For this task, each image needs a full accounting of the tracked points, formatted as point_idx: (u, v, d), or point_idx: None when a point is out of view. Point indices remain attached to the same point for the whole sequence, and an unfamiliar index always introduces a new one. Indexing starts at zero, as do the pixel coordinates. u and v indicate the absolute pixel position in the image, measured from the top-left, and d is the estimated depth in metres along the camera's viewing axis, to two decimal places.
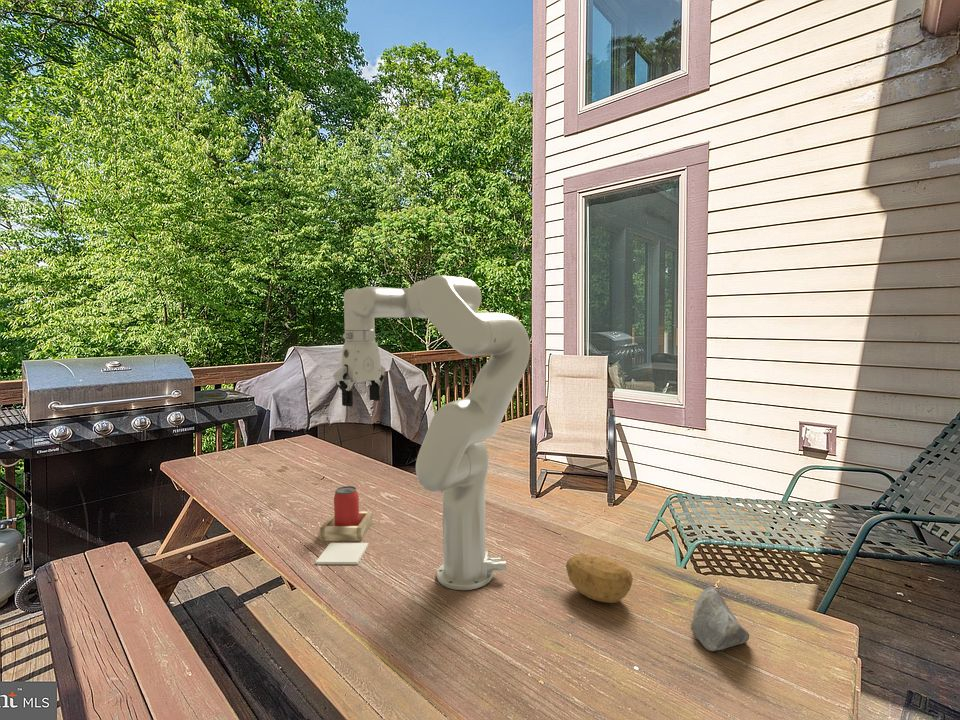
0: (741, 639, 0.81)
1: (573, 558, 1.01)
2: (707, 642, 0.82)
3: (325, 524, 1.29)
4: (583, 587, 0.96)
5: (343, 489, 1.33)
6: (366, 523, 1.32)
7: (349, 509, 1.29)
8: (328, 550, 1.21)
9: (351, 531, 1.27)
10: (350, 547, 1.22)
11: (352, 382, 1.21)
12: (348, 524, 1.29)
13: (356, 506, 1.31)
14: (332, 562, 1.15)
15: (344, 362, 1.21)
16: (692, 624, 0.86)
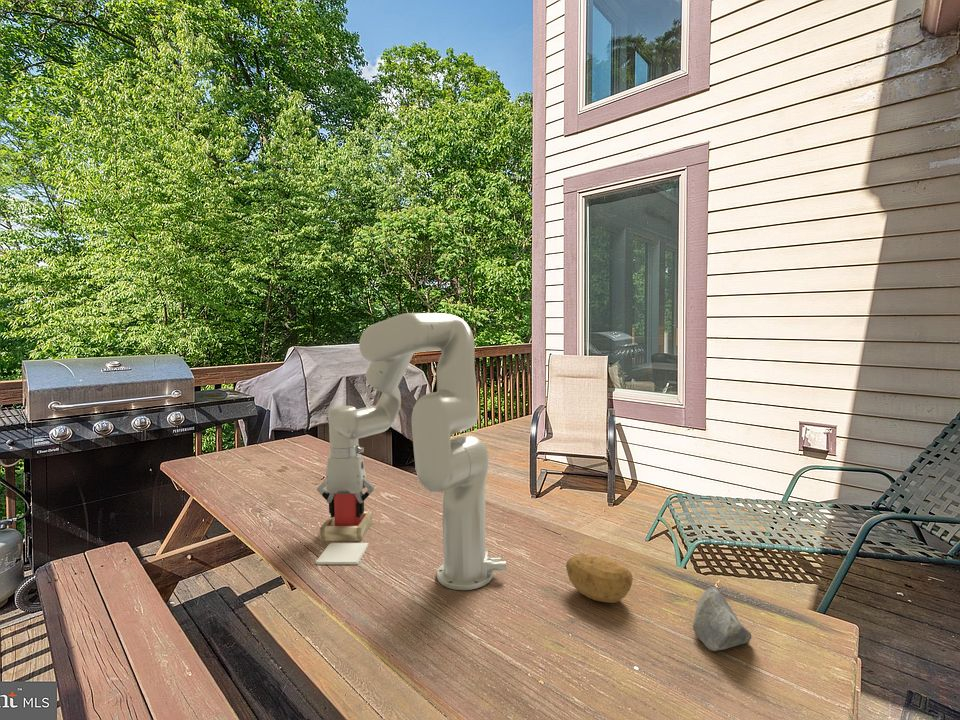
0: (743, 639, 0.81)
1: (573, 558, 1.01)
2: (709, 642, 0.82)
3: (325, 524, 1.29)
4: (583, 587, 0.96)
5: None
6: (366, 523, 1.32)
7: (349, 509, 1.29)
8: (328, 550, 1.21)
9: (351, 531, 1.27)
10: (350, 547, 1.22)
11: None
12: (348, 524, 1.29)
13: (356, 506, 1.31)
14: (332, 562, 1.15)
15: (362, 473, 1.31)
16: (694, 624, 0.86)
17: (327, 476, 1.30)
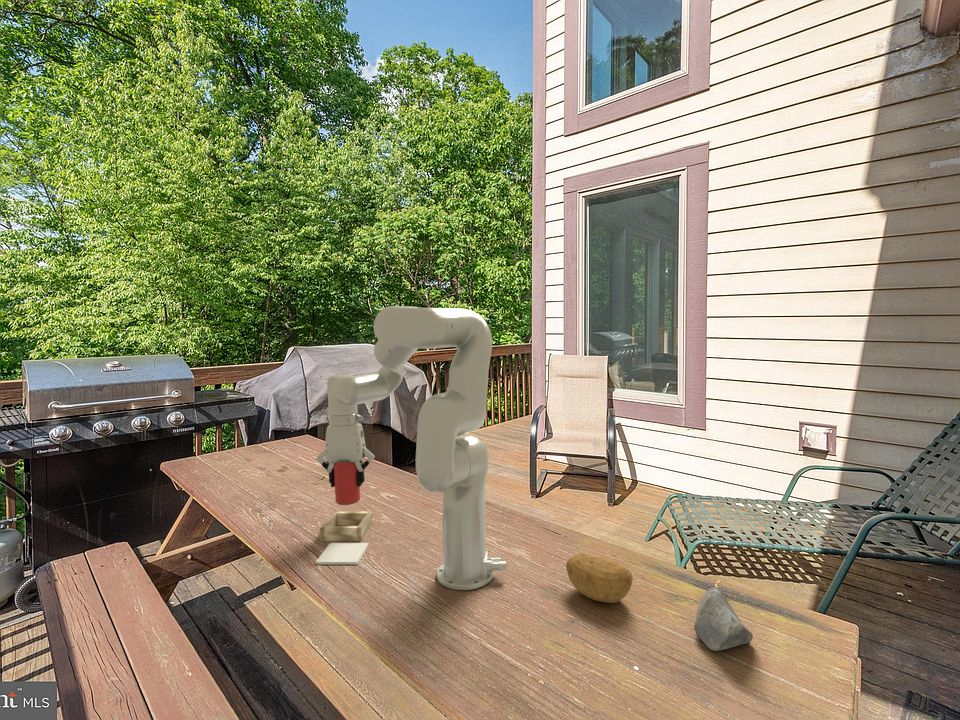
0: (744, 639, 0.81)
1: (573, 558, 1.01)
2: (710, 642, 0.82)
3: (325, 524, 1.29)
4: (583, 587, 0.96)
5: None
6: (366, 523, 1.32)
7: (349, 477, 1.28)
8: (328, 550, 1.21)
9: (351, 531, 1.27)
10: (350, 547, 1.22)
11: None
12: (348, 493, 1.28)
13: (356, 475, 1.30)
14: (332, 562, 1.15)
15: (362, 442, 1.30)
16: (695, 624, 0.86)
17: (326, 445, 1.29)
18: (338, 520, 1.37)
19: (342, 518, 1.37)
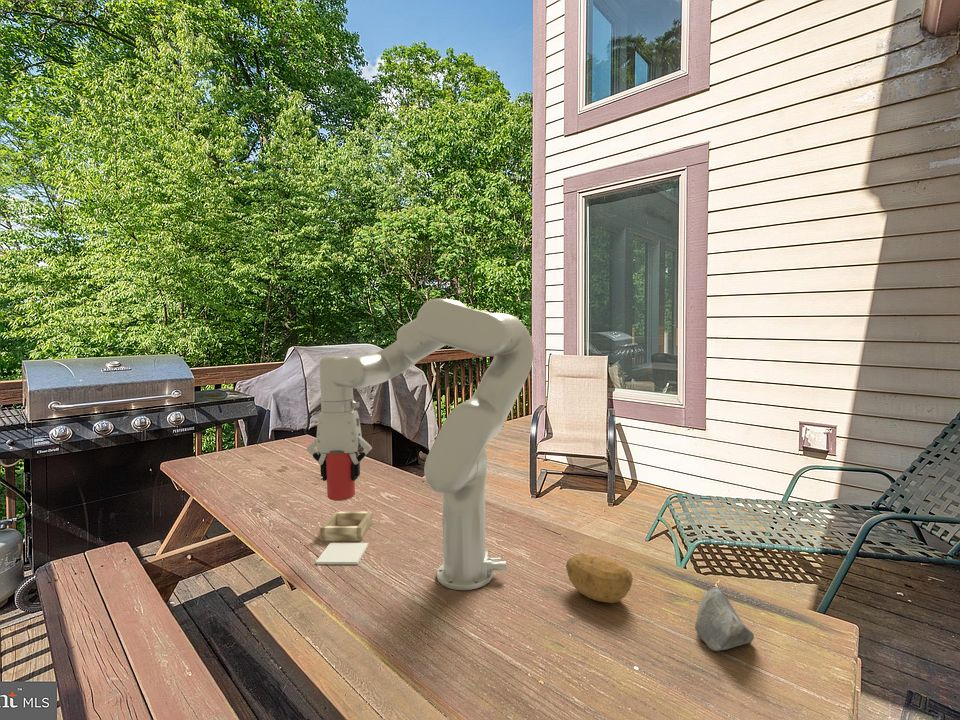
0: (745, 639, 0.81)
1: (573, 558, 1.01)
2: (711, 642, 0.82)
3: (325, 524, 1.29)
4: (583, 587, 0.96)
5: None
6: (366, 523, 1.32)
7: (343, 470, 1.15)
8: (328, 550, 1.21)
9: (351, 531, 1.27)
10: (350, 547, 1.22)
11: None
12: (342, 488, 1.15)
13: None
14: (332, 562, 1.15)
15: (358, 431, 1.17)
16: (696, 624, 0.86)
17: (318, 434, 1.15)
18: (338, 520, 1.37)
19: (342, 518, 1.37)
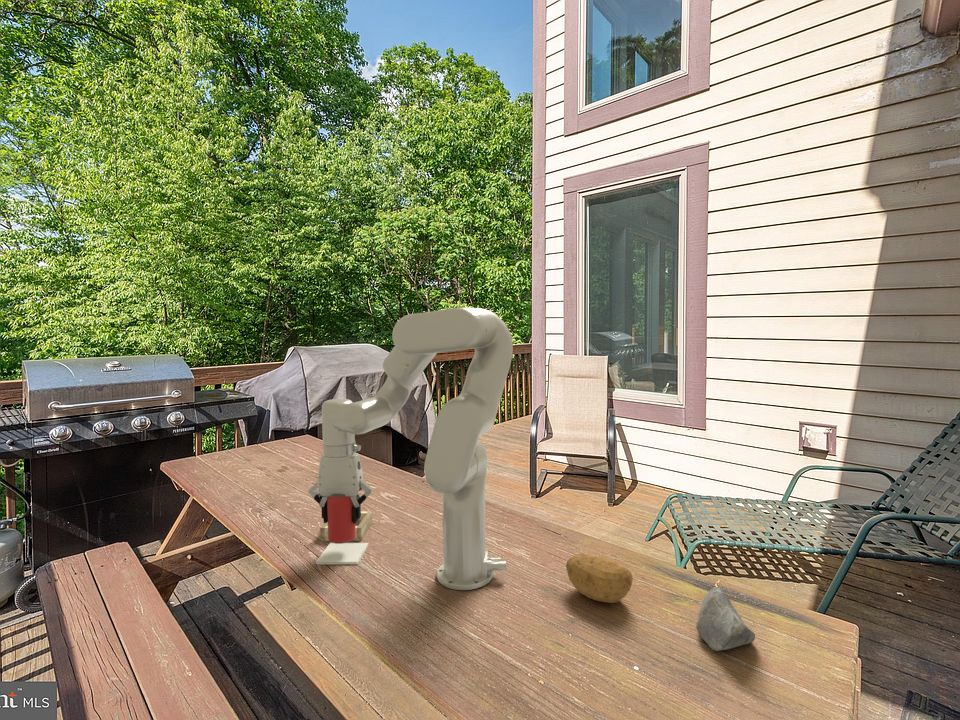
0: (747, 639, 0.81)
1: (573, 558, 1.01)
2: (712, 642, 0.82)
3: (325, 524, 1.29)
4: (583, 587, 0.96)
5: None
6: (366, 523, 1.32)
7: (344, 513, 1.16)
8: (328, 550, 1.21)
9: None
10: (350, 547, 1.22)
11: None
12: (343, 531, 1.16)
13: None
14: (332, 562, 1.15)
15: (359, 474, 1.17)
16: (697, 624, 0.86)
17: (320, 477, 1.16)
18: None
19: None
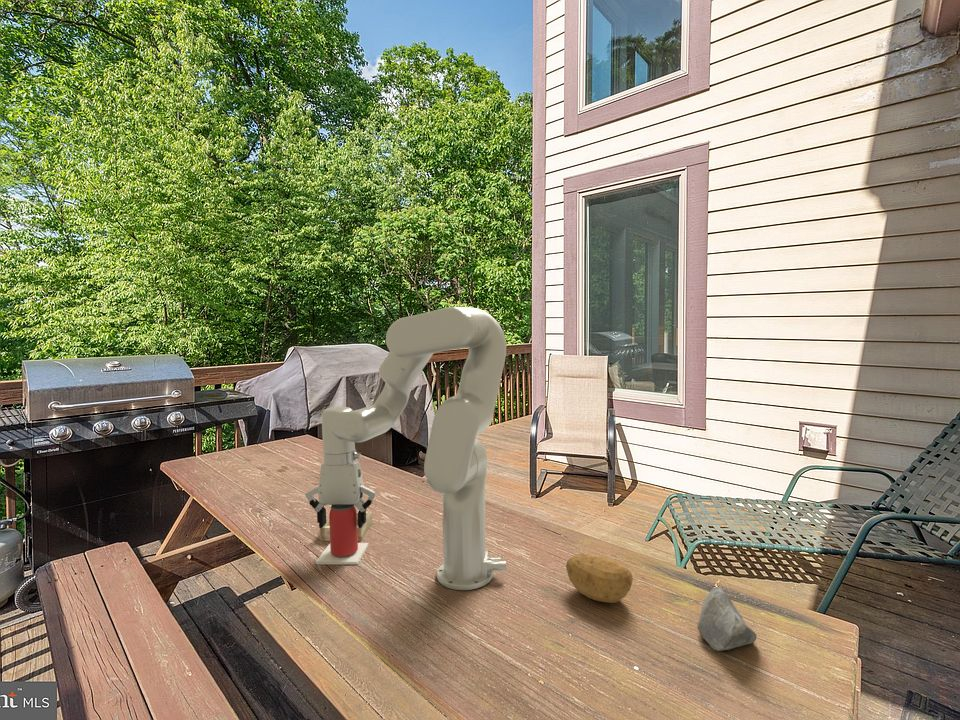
0: (748, 639, 0.81)
1: (573, 558, 1.01)
2: (714, 642, 0.82)
3: (325, 524, 1.29)
4: (583, 587, 0.96)
5: (339, 505, 1.19)
6: (366, 523, 1.32)
7: (346, 527, 1.16)
8: (328, 550, 1.21)
9: None
10: None
11: None
12: (345, 544, 1.16)
13: (354, 524, 1.18)
14: (332, 562, 1.15)
15: (359, 482, 1.18)
16: (698, 624, 0.86)
17: (320, 485, 1.16)
18: None
19: None
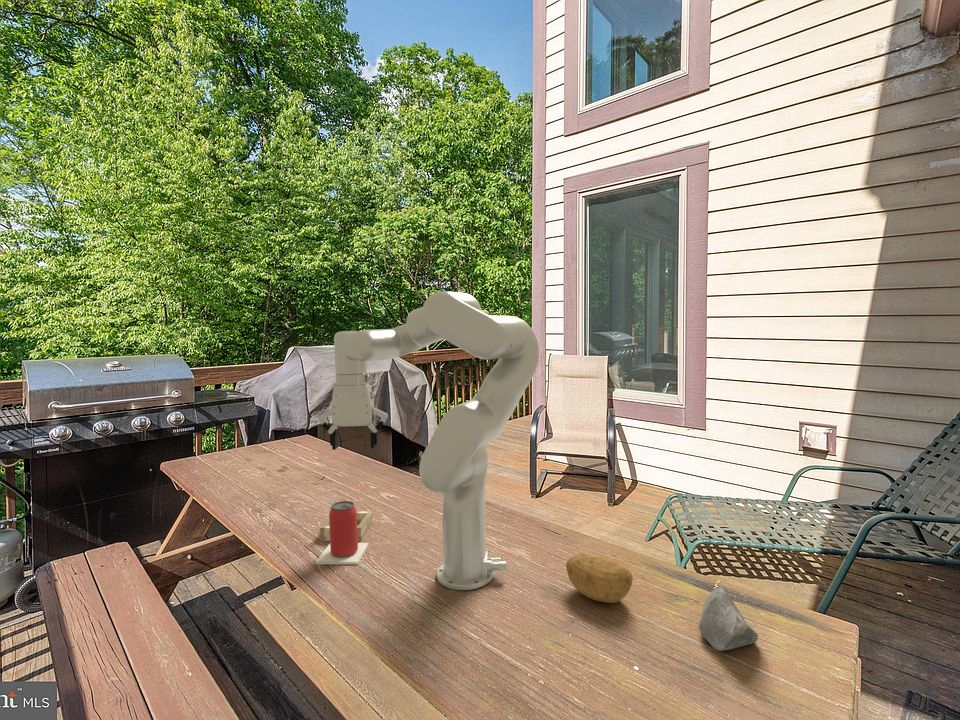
0: (749, 639, 0.81)
1: (573, 558, 1.01)
2: (715, 642, 0.82)
3: (325, 524, 1.29)
4: (583, 587, 0.96)
5: (339, 505, 1.19)
6: (366, 523, 1.32)
7: (346, 527, 1.16)
8: (328, 550, 1.21)
9: None
10: None
11: None
12: (345, 544, 1.16)
13: (354, 524, 1.18)
14: (332, 562, 1.15)
15: (372, 404, 1.21)
16: (700, 624, 0.86)
17: (333, 406, 1.19)
18: None
19: None
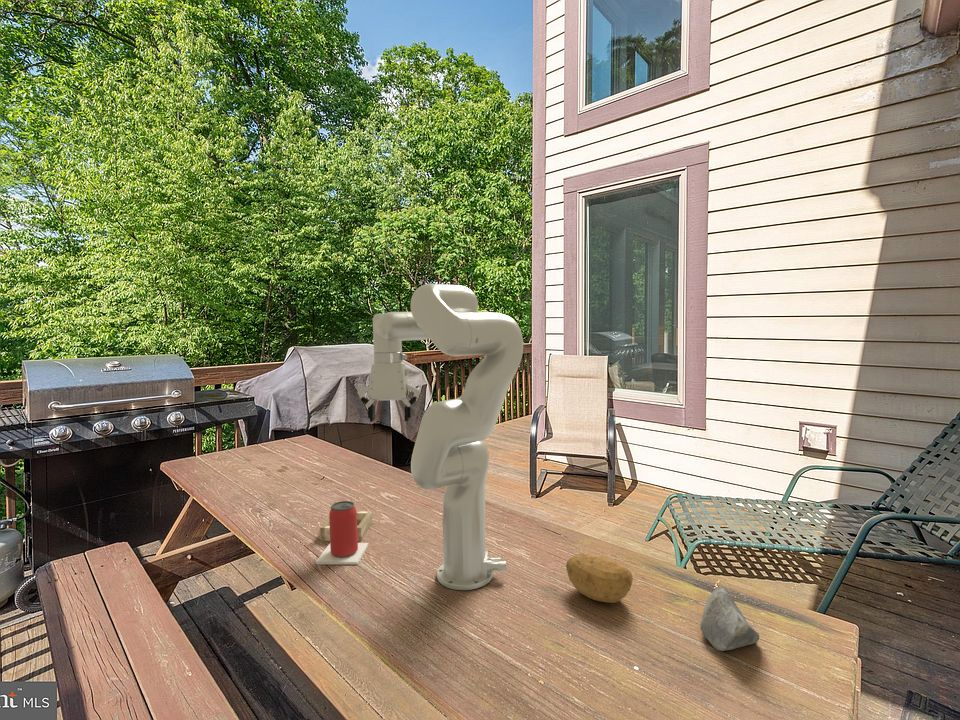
0: (751, 639, 0.81)
1: (573, 558, 1.01)
2: (716, 642, 0.82)
3: (325, 524, 1.29)
4: (583, 587, 0.96)
5: (339, 505, 1.19)
6: (366, 523, 1.32)
7: (346, 527, 1.16)
8: (328, 550, 1.21)
9: None
10: None
11: None
12: (345, 544, 1.16)
13: (354, 524, 1.18)
14: (332, 562, 1.15)
15: (406, 380, 1.31)
16: (701, 624, 0.86)
17: (371, 382, 1.30)
18: None
19: None
